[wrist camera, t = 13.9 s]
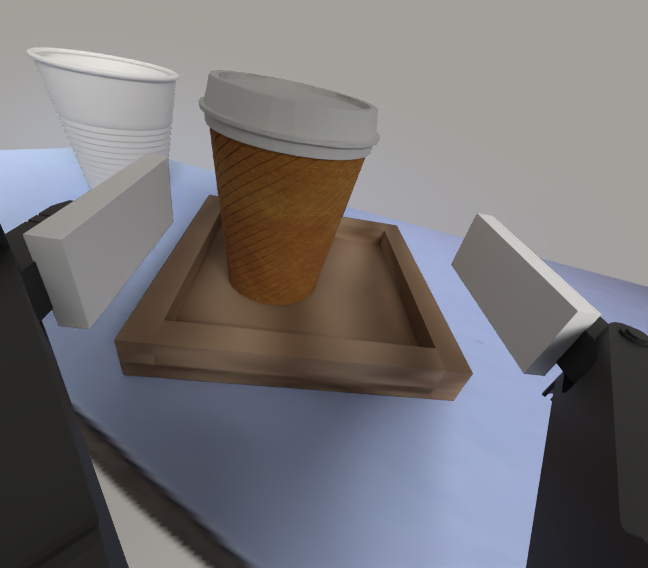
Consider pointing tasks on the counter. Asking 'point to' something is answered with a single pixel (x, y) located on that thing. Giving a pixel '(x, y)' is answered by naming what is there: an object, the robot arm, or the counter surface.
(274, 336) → the tray
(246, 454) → the counter surface
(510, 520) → the counter surface
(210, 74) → the disposable coffee cup
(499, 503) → the counter surface
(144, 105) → the cup
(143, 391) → the counter surface
